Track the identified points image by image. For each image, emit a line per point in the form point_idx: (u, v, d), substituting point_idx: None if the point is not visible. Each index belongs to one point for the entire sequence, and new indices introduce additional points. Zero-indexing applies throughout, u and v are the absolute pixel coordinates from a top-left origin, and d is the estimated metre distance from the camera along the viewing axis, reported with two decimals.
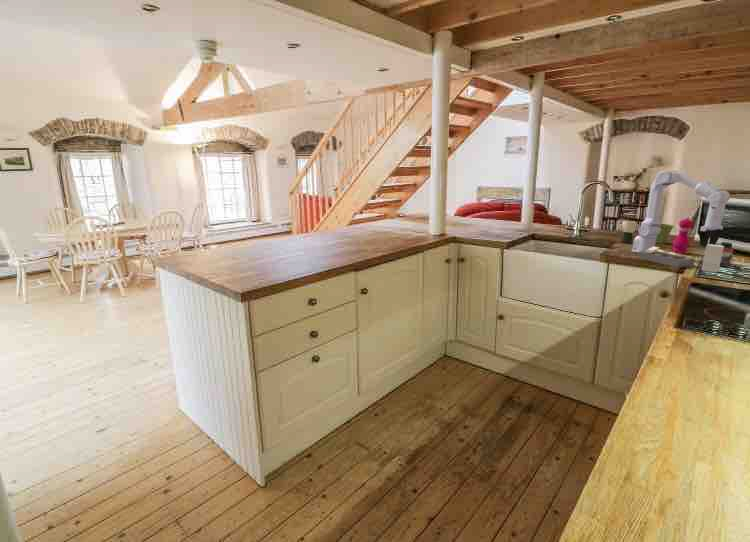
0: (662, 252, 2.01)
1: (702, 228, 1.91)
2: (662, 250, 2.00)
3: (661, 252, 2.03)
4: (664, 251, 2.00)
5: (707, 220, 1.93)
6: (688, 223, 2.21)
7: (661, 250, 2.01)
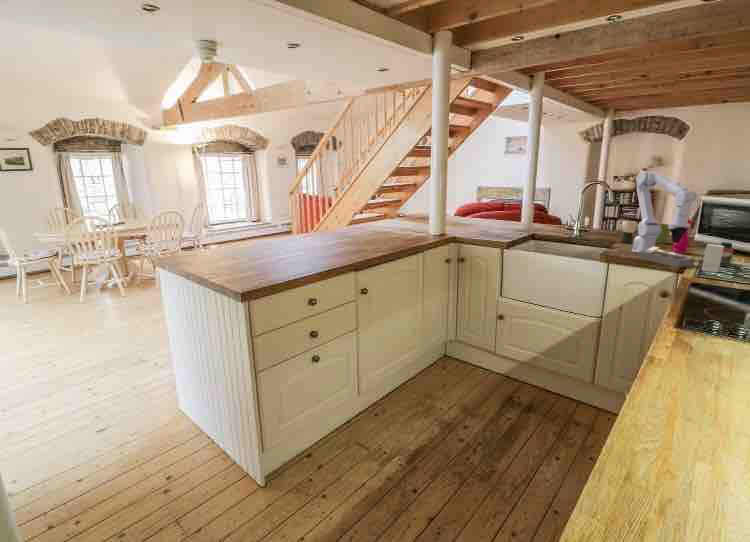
0: (662, 252, 2.01)
1: (670, 226, 2.00)
2: (662, 250, 2.00)
3: (661, 252, 2.03)
4: (664, 251, 2.00)
5: (675, 218, 2.02)
6: None
7: (661, 250, 2.01)
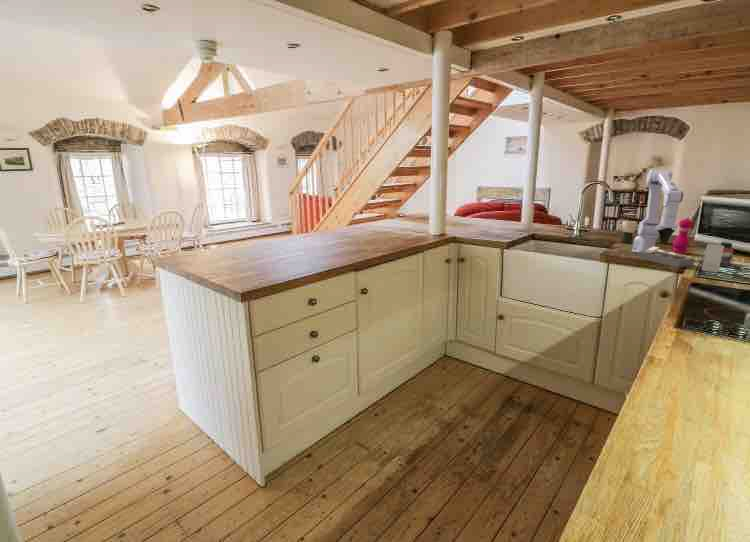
0: (662, 252, 2.01)
1: (657, 227, 1.96)
2: (662, 250, 2.00)
3: (661, 252, 2.03)
4: (664, 251, 2.00)
5: (662, 219, 1.98)
6: (688, 223, 2.21)
7: (661, 250, 2.01)
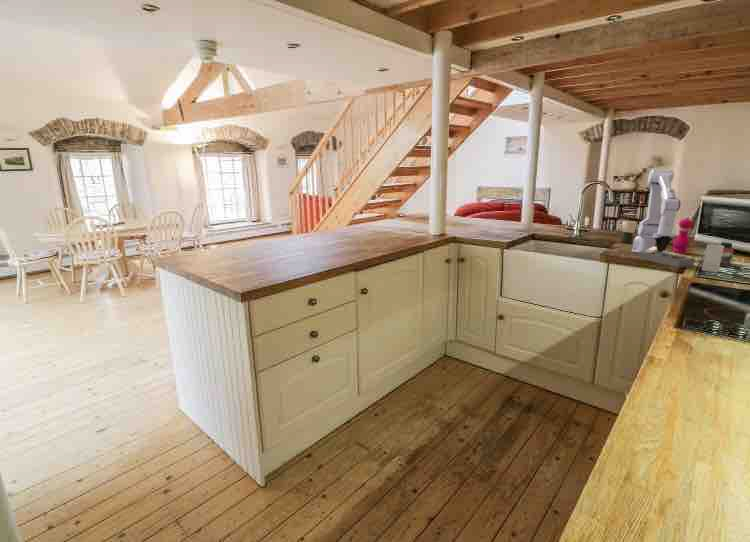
0: (662, 252, 2.01)
1: (654, 235, 1.97)
2: None
3: (661, 252, 2.03)
4: (664, 251, 2.00)
5: (659, 227, 1.99)
6: (688, 223, 2.21)
7: None
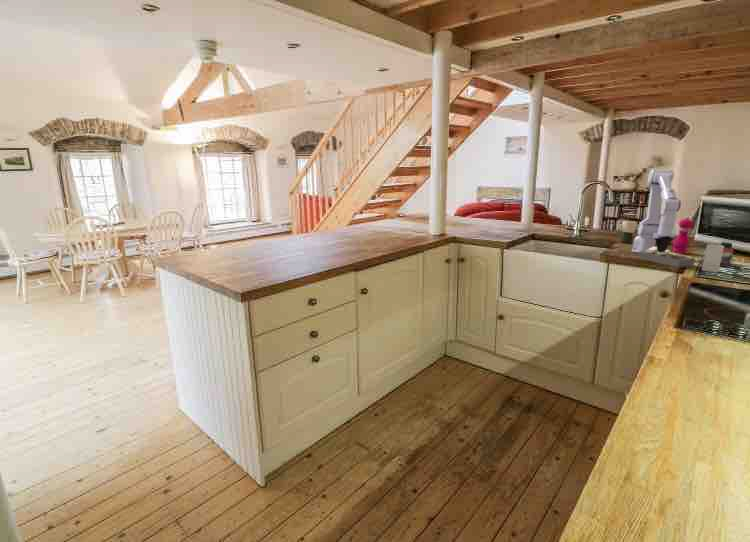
0: (662, 254, 2.01)
1: (654, 235, 1.97)
2: (661, 252, 2.01)
3: None
4: (664, 252, 2.01)
5: (660, 227, 1.99)
6: (688, 223, 2.21)
7: (660, 252, 2.01)
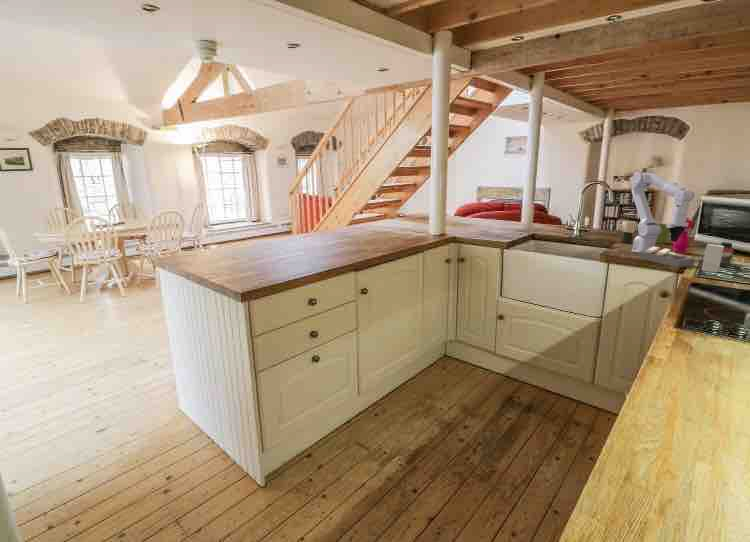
0: None
1: (668, 225, 2.03)
2: (661, 253, 2.01)
3: None
4: (663, 253, 2.01)
5: (673, 217, 2.05)
6: None
7: (660, 253, 2.01)
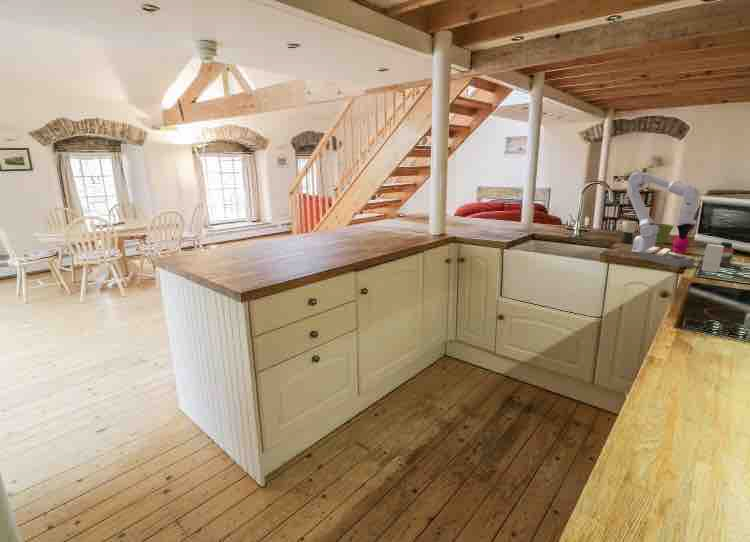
0: (662, 255, 2.01)
1: (676, 223, 2.05)
2: (661, 254, 2.01)
3: None
4: (663, 254, 2.01)
5: (681, 215, 2.07)
6: None
7: (660, 254, 2.01)
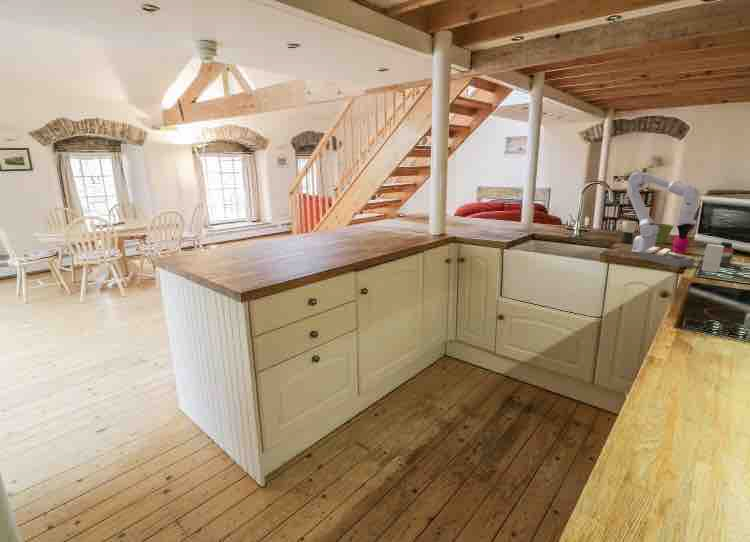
0: None
1: (676, 223, 2.05)
2: (661, 254, 2.01)
3: None
4: (663, 254, 2.01)
5: (681, 215, 2.07)
6: None
7: (660, 254, 2.01)
